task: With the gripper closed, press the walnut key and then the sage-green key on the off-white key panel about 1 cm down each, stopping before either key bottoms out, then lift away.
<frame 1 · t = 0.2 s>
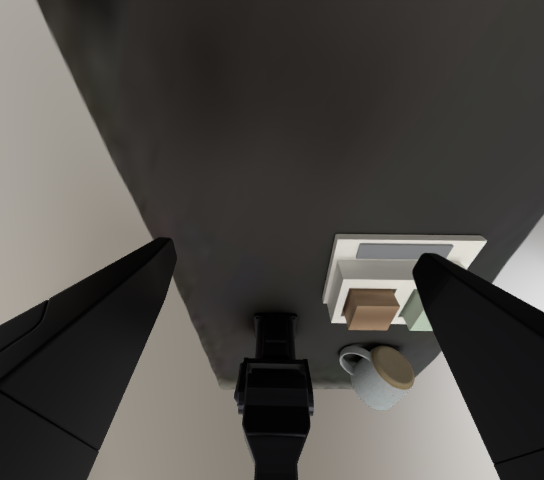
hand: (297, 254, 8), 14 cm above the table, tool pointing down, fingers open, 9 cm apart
ceramic mug: (366, 352, 42), on the table
key panel: (384, 278, 29), on the table
sage key: (430, 307, 26), point 4 cm above the table, slide at 0.0 cm
walnut key: (368, 307, 26), point 4 cm above the table, slide at 0.0 cm
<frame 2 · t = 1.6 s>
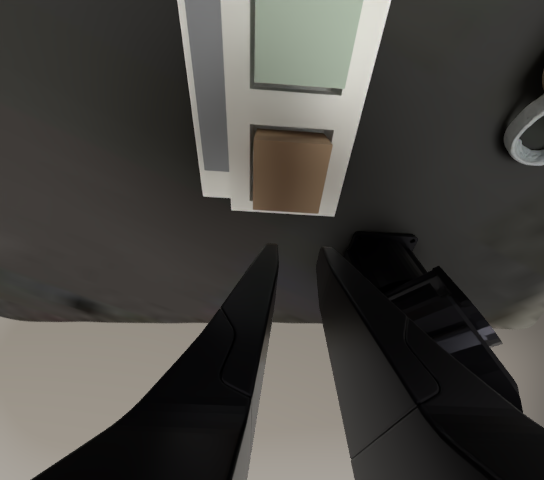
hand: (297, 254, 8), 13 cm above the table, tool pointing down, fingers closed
key panel: (290, 102, 17), on the table
sage key: (303, 28, 11), point 5 cm above the table, slide at 0.0 cm
walnut key: (288, 171, 15), point 4 cm above the table, slide at 0.0 cm
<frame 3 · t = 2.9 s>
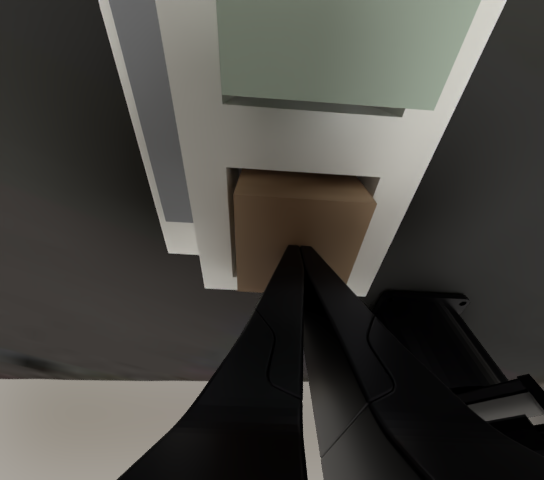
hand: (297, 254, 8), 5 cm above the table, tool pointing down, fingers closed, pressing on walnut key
key panel: (298, 120, 10), on the table
walnut key: (294, 230, 9), point 4 cm above the table, slide at 0.8 cm, touching gripper
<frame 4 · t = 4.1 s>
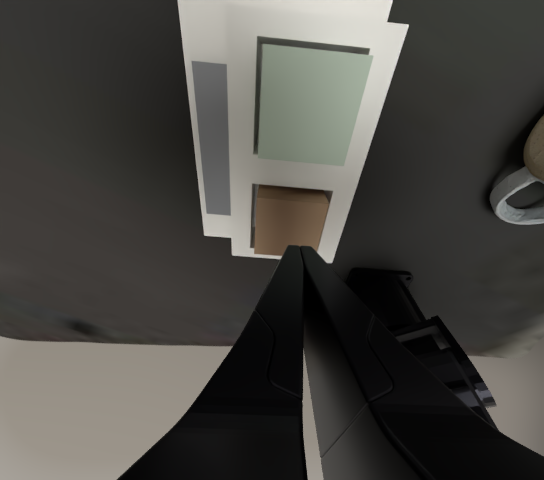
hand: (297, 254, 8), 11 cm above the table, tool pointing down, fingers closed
key panel: (291, 154, 17), on the table
sage key: (305, 108, 11), point 4 cm above the table, slide at 0.0 cm
walnut key: (287, 219, 16), point 4 cm above the table, slide at 0.8 cm
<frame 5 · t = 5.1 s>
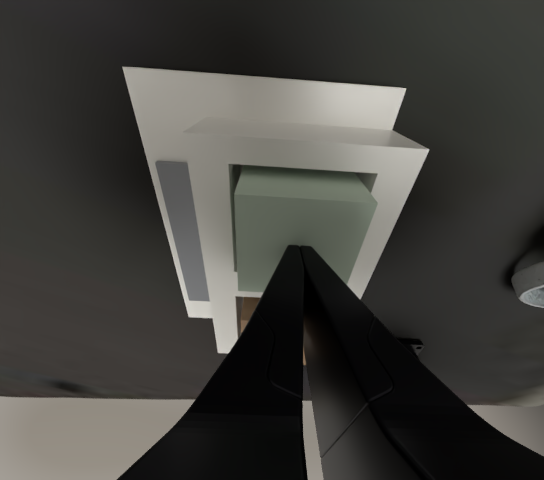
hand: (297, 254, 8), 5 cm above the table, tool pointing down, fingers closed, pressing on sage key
key panel: (284, 240, 15), on the table
sage key: (294, 230, 9), point 4 cm above the table, slide at 0.5 cm, touching gripper
walnut key: (280, 321, 14), point 4 cm above the table, slide at 0.8 cm
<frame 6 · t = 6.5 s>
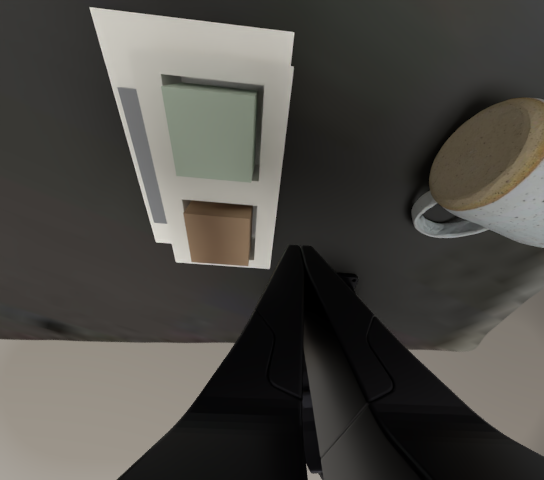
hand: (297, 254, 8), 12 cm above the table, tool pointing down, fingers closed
ceramic mug: (466, 173, 19), on the table
key panel: (228, 169, 18), on the table
sage key: (217, 133, 13), point 4 cm above the table, slide at 0.8 cm
walnut key: (222, 230, 18), point 4 cm above the table, slide at 0.8 cm
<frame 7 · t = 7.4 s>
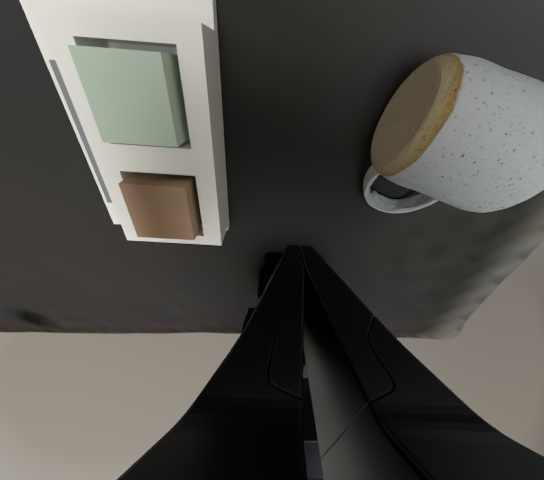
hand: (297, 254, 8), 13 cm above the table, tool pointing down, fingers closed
ceramic mug: (414, 145, 19), on the table
key panel: (175, 144, 18), on the table
sage key: (141, 99, 13), point 4 cm above the table, slide at 0.8 cm
walnut key: (167, 204, 18), point 4 cm above the table, slide at 0.8 cm
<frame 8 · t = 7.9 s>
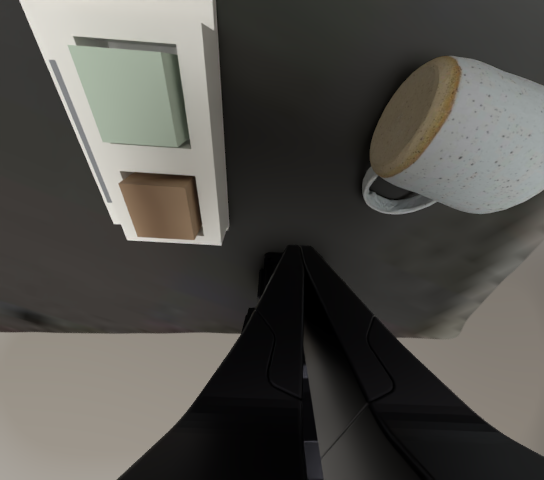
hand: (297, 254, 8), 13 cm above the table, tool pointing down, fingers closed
ceramic mug: (413, 146, 19), on the table
key panel: (175, 144, 18), on the table
sage key: (141, 99, 13), point 4 cm above the table, slide at 0.8 cm
walnut key: (167, 204, 18), point 4 cm above the table, slide at 0.8 cm
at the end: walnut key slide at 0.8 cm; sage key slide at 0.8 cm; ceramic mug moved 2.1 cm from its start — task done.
